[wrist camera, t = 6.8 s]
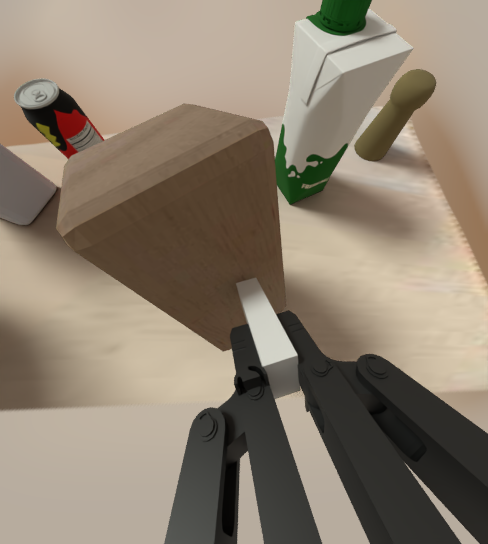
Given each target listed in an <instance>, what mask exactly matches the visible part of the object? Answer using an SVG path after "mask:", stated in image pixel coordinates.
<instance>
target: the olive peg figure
mask: <svg viewBox="0 0 488 544" xmlns="http://www.w3.org/2000/svg"><path fill="white" fill-rule="evenodd" d="M435 86H436V80H435V77H434V76H433V75H432V74H431V73H429V72H427V71H425V70H420V69H416V70H411V71H409V72H407V73H406V74H404V75H403V76H402V77H401V78H400V79H399V80H398V81H397V83H396V84H395V86H394V88H393V90H392V93H391V96H390V100H389V101H388V103H387V104H386V105H385V106H384V107H383V109H382V110H381V111H380V113H379V114H378V115H377V116H376V118H375V119H374V120H373V121H372V123H371V124H370V125H369V126H368V128H367V129H366V130H365V131H364V133H363V134H362V135H361V136H360V138H359V139H358V140H357V141H356V143H355V151H356V153H357V154H358V155H359V156H360V157H361V158H363V159H365V160H368V161H377V160H380V159H382V158H383V157H384V156H385V154H386V153H387V151H388V150H389V148H390V147H391V145H392V144H393V142H394V141H395V139H396V138H397V136H398V135H399V133H400V132H401V130H402V129H403V127H404V126H405V124H406V123H407V121H408V120H409V118H410V117H411V115H412V114H413V112H414V111H415V110H416V109H418V108H420V107H421V106H422V105H423V104H425V102H426V101H427V100H428V99H429V98H430V97H431V95H432V93H433V92H434V89H435Z"/></svg>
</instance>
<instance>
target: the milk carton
mask: <svg viewBox="0 0 488 544" xmlns="http://www.w3.org/2000/svg"><path fill="white" fill-rule="evenodd" d="M371 1H372V0H323V1H322V5H321V9H320V11H319V12H317V13H316V14H315V15H311V16H307V17H306V19H303V20H299V21H296V23H295V30H294V43H293V54H292V55H293V56H292V66H291V78H290V87H289V93H288V98H287V104H286V108H285V113H284V118H283V123H282V128H281V133H280V138H279V143H278V148H277V153H276V158H275V170H276V183H277V186H278V187H279V189H280V190H281V192H282V193H283V195H284V196H285V198H286V199H287V201H288V202H289V204H293V203H295V202H297V201H299V200H302V199H304V198H306V197H309V196H311V195H313V194H315V193H318V192H320V191H322V190H323V189H324V187H325V185H326V183H327V181H328V180H329V178H330V176H331V174H332V172H333V171H334V169H335V167H336V166H337V164H338V162H339V161H340V159H341V157H342V156H343V154H344V152H345V151H346V149H347V147H348V146H349V144H350V142H351V141H352V139H353V137H354V135H355V134H356V132H357V130H358V129H359V127H360V125H361V124H362V122H363V120H364V119H365V117H366V115H367V114H368V112H369V111H370V109H371V108H372V106H373V105H374V103H375V102H376V100H377V99H378V97H379V96H380V95H381V93H382V92H383V90H384V89H385V88H386V86H387V85H388V84H389V82H390V81H391V79H392V78H393V76H394V75H395V74H396V72H397V71H398V69H399V68H400V67H401V65H402V64H403V63H404V61H405V60H406V58H407V57H408V56H409V54H410V53H411V51H412V50H413V47H412V46H411V45H409V44H408V43H407V42H406V41H405V40H403V39H402V38H401V37H400V36H399V35H398V34H396V31H397V30H396V29H395V28H394V27H393V26H392V25H391V24H389V23H386V22H385V21H384V20H383V19H381V18H380V17H379V16H378V15H377V14H375V13H374V12H373V11H372V10H370V9H369V6H370V4H371Z"/></svg>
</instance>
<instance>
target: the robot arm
mask: <svg viewBox="0 0 488 544" xmlns="http://www.w3.org/2000/svg"><path fill="white" fill-rule="evenodd" d="M236 285H237V289H238V293H239V297H240V301H241V304H242V308H243V312H244V315H245V318H246V322H247V324H244V325H241V326H238V327H234V328H232V330H231V333H230V341H231V346H232V351H233V358H234V363H235V369H236V375H235V377H234V385H235V388H236V390H235V392H234V394H233V395H232V397H231V398H230V399H229V400H227V401H226V402H225V403H224V404H222V405H221V406H220V407H219V408H207V409H204V410H203V411H201V412H200V413H199V414H198V415H197V416H196V418H195V419H194V421H193V423H192V426H191V428H190V432H189V437H188V442H187V445H186V450H185V454H184V459H183V463H182V468H181V472H180V476H179V481H178V485H177V490H176V494H175V499H174V503H173V507H172V512H171V516H170V521H169V525H168V530H167V534H166V539H165V543H164V544H237V529H238V500H239V499H238V498H239V470H240V458H241V457H242V456H243V455H244V453H246V452H247V451H248V452H249V458H250V464H251V470H252V476H253V481H254V487H255V493H256V499H257V504H258V510H259V516H260V522H261V528H262V533H263V539H264V544H322V542H321V539H320V536H319V533H318V530H317V526H316V524H315V521H314V517H313V515H312V511H311V509H310V505H309V502H308V499H307V496H306V493H305V490H304V487H303V484H302V481H301V478H300V475H299V472H298V469H297V466H296V463H295V460H294V457H293V454H292V451H291V448H290V445H289V442H288V439H287V436H286V433H285V430H284V427H283V424H282V421H281V418H280V414H279V411H278V409H277V405H276V402H275V399H276V398H279V397H282V396H285V395H288V394H291V393H294V392H297V391H300V386H301V388H302V391H303V393H304V395H305V407H306V411H307V412H308V411H310V413H311V415H312V417H313V420H314V422H315V424H316V426H317V428H318V430H319V433H320V435H321V437H322V439H323V442H324V444H325V446H326V448H327V450H328V453H329V455H330V457H331V459H332V461H333V463H334V466H335V468H336V470H337V472H338V474H339V476H340V479H341V481H342V483H343V485H344V488H345V490H346V492H347V494H348V496H349V498H350V501H351V503H352V505H353V507H354V509H355V511H356V514H357V516H358V518H359V520H360V522H361V525H362V527H363V529H364V531H365V533H366V535H367V538H368V540H369V542H370V544H461V543H460V541H459V539H458V538H457V537H456V535H455V534H454V532H453V531H452V530H451V528H450V527H449V525H448V524H447V522H446V521H445V520H444V518H443V517H442V516H441V514H440V513H439V511H438V510H437V508H436V507H435V505H434V504H433V503H432V502H431V500H430V498H429V497H428V496H427V494H426V493H425V491H424V490H423V488H421V486H420V484H419V483H418V481H417V480H416V479H415V477H414V476H413V474H412V473H411V471H410V470H409V469H408V467H407V466H406V464H407V465H408V466H409V468H410V469H411V470H412V471H413V472H414V473H415V474H416V475H417V476H418V477H419V478H420V479H421V480H422V482H423V483H424V484H425V485H426V486H427V487H428V488H429V489H430V490H431V491H432V492H433V494H434V495H435V496H436V497H437V498H438V499H439V500H440V501H441V502H442V503H443V504H444V505H445V507H446V508H447V509H448V510H449V511H450V512H451V513H452V514H453V515H454V516H455V517H456V518H457V519H458V521H459V522H460V523H461V524H462V525H463V526H464V527H465V528H466V529H467V530H468V531H469V532H470V534H471V535H472V536H473V537H474V538H475V539H476V540H477V541H478V542H479V543H480V544H488V434H487V433H486V432H485V431H483V430H482V429H481V428H479V427H478V426H476V425H475V424H474V423H472V422H471V421H470V420H468V419H467V418H466V417H464V416H463V415H461V414H460V413H459V412H457V411H456V410H455V409H453V408H452V407H451V406H449V405H448V404H446V403H445V402H444V401H442V400H441V399H440V398H438V397H437V396H435V395H434V394H433V393H431V392H430V391H429V390H427V389H426V388H425V387H423V386H422V385H420V384H419V383H418V382H416V381H415V380H414V379H412V378H411V377H409V376H408V375H407V374H405V373H404V372H403V371H401V370H400V369H399V368H397V367H396V366H394V365H393V364H392V363H390V362H389V361H388V360H386V359H384V358H382V357H380V356H377V355H374V354H365V355H363V356H360V358H359V359H358V360H357V362H342V361H335V360H332V359H330V358H328V357H326V356H325V355H324V354H323V353H322V352H321V351H320V350H319V348H318V347H317V345H316V344H315V342H314V341H313V340H312V338H311V337H310V335H309V334H308V332H307V331H306V329H305V328H304V326H303V325H302V323H301V322H300V320H299V319H298V317H297V316H296V315H295V314H293V313H292V312H290V311H286V312H282V313H279V314H275V312H274V310H273V308H272V306H271V304H270V303H269V301H268V299H267V297H266V295H265V293H264V291H263V290H262V288H261V286H260V284H259V282H258V280H257V278H252V279H249V280H245V281H242V282H238V283H236ZM404 462H405V463H406V464H405V463H404Z"/></svg>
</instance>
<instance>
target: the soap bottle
mask: <svg viewBox="0 0 488 544" xmlns="http://www.w3.org/2000/svg"><path fill="white" fill-rule="evenodd" d="M56 189H57V187H56V185H55V184H54V183H53V182H51V181H50V180H49V179H47V178H46V177H44V176H43V175H42V174H40V173H39V172H38V171H36V170H35V169H34V168H32V167H31V166H30V165H28V164H27V163H26V162H24V161H23V160H22V159H20V158H19V157H17V156H16V155H15V154H13V153H12V152H11V151H9V150H8V149H7V148H5V147H4V146H3V145H1V144H0V218H2V219H5V220H8V221H10V222H13V223H16V224H18V225H28V224H30V223H31V222H33V220H34V219H35V218H36V216H37V215H38V214H39V213H40V211H41V210H42V209H43V207H44V206H45V205H46V204H47V202H48V201H49V200H50V198H51V197H52V196H53V194H54V193H55V192H56Z"/></svg>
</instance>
